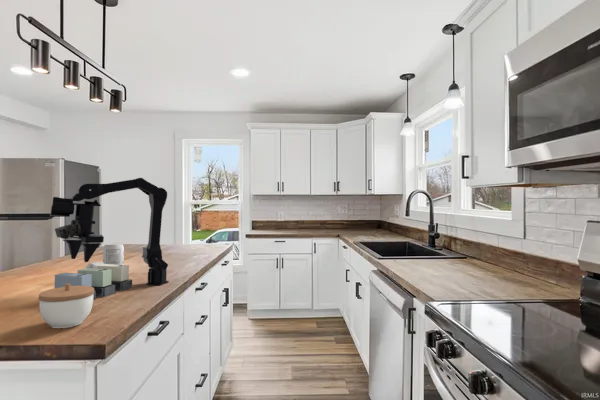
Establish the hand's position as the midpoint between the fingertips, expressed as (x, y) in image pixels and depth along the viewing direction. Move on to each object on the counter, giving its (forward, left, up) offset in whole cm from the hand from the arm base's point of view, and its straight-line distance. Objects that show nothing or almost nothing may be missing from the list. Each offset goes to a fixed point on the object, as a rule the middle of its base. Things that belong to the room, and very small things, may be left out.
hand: (79, 260), depth 126 cm
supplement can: (+9, -26, -12) cm, 30 cm away
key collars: (-5, -1, -12) cm, 13 cm away
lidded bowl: (-23, +27, -12) cm, 37 cm away
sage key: (-5, -1, -9) cm, 10 cm away
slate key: (-5, +8, -9) cm, 13 cm away
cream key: (-5, -10, -9) cm, 15 cm away
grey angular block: (+10, -17, -12) cm, 23 cm away
